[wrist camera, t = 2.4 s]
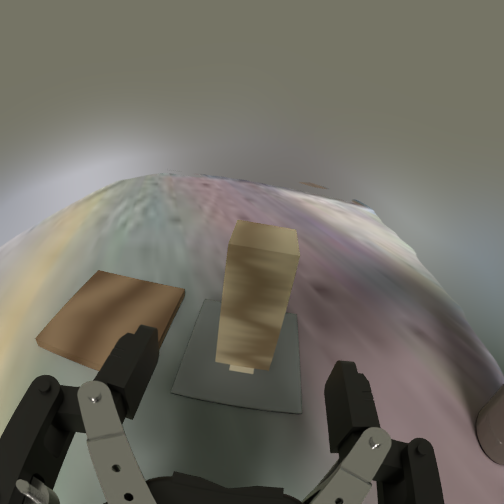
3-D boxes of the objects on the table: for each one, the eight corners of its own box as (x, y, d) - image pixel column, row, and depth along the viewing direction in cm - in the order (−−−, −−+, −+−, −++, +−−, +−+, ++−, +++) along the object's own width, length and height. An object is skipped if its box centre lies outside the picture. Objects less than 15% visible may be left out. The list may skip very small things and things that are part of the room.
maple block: (270, 335, 30) (296, 229, 25) (268, 370, 25) (299, 255, 20) (223, 327, 30) (237, 219, 25) (215, 361, 25) (228, 243, 20)
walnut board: (184, 295, 34) (184, 289, 34) (142, 385, 21) (141, 378, 21) (99, 276, 34) (98, 270, 34) (38, 345, 22) (35, 338, 21)
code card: (296, 315, 34) (296, 314, 34) (301, 413, 21) (301, 413, 21) (204, 299, 34) (204, 298, 34) (170, 392, 21) (170, 391, 21)
